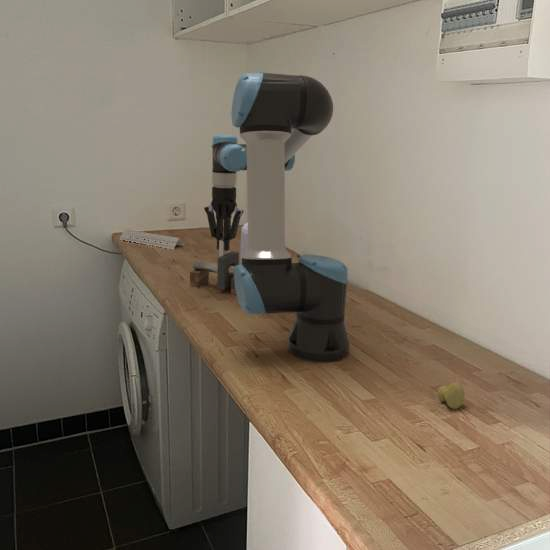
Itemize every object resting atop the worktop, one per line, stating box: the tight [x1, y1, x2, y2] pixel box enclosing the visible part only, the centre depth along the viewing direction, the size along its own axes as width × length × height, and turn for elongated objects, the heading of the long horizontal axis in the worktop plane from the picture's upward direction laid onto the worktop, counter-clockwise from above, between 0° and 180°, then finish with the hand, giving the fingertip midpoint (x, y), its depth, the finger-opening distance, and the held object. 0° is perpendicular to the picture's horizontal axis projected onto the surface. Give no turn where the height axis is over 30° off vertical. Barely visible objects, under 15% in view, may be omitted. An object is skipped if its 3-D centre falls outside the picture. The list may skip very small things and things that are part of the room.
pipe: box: [192, 260, 235, 276], centre depth 186 cm, size 18×3×3 cm, turn 67°
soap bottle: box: [239, 221, 248, 264], centre depth 209 cm, size 9×7×23 cm
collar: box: [216, 251, 240, 290], centre depth 185 cm, size 2×10×10 cm, turn 157°
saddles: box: [189, 269, 237, 296], centre depth 187 cm, size 18×7×5 cm, turn 67°
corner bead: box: [118, 228, 185, 251], centre depth 244 cm, size 29×9×5 cm, turn 63°
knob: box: [437, 382, 465, 410], centre depth 117 cm, size 5×5×5 cm
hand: (222, 259), depth 185 cm, fingers closed
